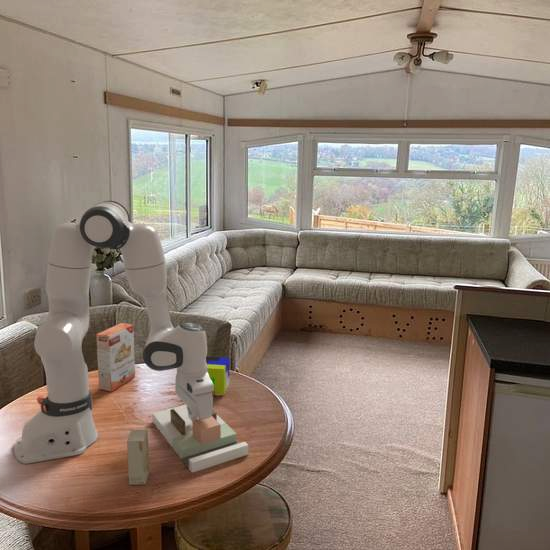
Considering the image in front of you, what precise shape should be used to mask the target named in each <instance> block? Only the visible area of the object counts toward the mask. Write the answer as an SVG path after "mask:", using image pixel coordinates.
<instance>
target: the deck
mask: <svg viewBox="0 0 550 550" xmlns="http://www.w3.org/2000/svg"><path fill="white" fill-rule="evenodd" d="M171 409H174V410H175V411H176V412H177V413H178V415H179V416H180V417H181V418H182V419H183V420H184V421H185V435H181V433H180V432H179V431H178V430H177V429H176V427H175V426H174V425H173V424H172V423H171V414H170V410H171ZM151 414H152V415H151V416H152V417H151V418H152V424H154V426H155V425H156V426H155V427H156V428H157V429H158V431H159V430H160V431H159V432H160V434H161V435H162V436H163V437H164V439H165V440H166V441H167V443H169V445H170V446H171V448H172V447H173V448H172V449H173V451H175V452H176V454H177V455H178V457H179V458H180V459H181V461H182V462H183V463H184V464H185V466H186V467H187V468H188V470H189V471H190V472H191V473H192V474H193V473H196V472H199V471H202V470H205V469H208V468H209V469H210V468H211V467H214V466H218V465H221V464H224V463H227V462H230V461H232V460H236V459H238V458H242V457H245V456H247V455H249V444H248V443H247V442H246V441H242V442H238V440H237V439H238V437H237V435H238V433H236V432H235V430H233V428H232V427H230V426H229V425H228V424H227V423H226V422H225V421H224V420H223V419H222V418H221V417H220V416H219V415H218V414H217V422H218V423H219V424H220V425H221V439H219V440H215V441H212V442H209V443H205V444H202V445H201V444H200V443H199V442H198V440H197V439H196V438H195V437H194V436H193V429H192V421H191V420H190V418H189V417H188V410H187V407H186V404H183V405H180V406H174V407H171V408H168V409H163V410H159V411H155V412H152V413H151ZM198 419H199V418H198Z"/></svg>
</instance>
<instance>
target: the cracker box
mask: <svg viewBox="0 0 550 550" xmlns="http://www.w3.org/2000/svg"><path fill="white" fill-rule="evenodd" d="M134 330H135V329H134V325H133V324H130V323H123V322H120V323H118V324H115V325H114V326H111V327H109V328H107V329H105V330H103V331H101V332H98V333H96V353H97V354H96V355H97V371H98V373H97V374H98V388H99V390H101V391H106V392H111V393H112V392H114V391H115V390H117V389H118V388H120V387H122V386H123V385H125V384H126V383H128V382H130V381H131V380H133V379H134V378H135V377H136V370H135V369H136V367H135V336H134V335H135V331H134Z"/></svg>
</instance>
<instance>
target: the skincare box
mask: <svg viewBox="0 0 550 550" xmlns="http://www.w3.org/2000/svg"><path fill="white" fill-rule="evenodd" d="M148 431H149V430H148V429H131V430H130V433H129V436H128V439H127V440H126V449H127V463H128V464H127V468H128V484H129V485H130V486H131V485H132V486H133V485H134V486H136V485H137V486H139V485H146V484H147V481H148V478H149V474H150V459H149V458H150V457H149V456H150V455H149V434H148Z"/></svg>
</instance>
